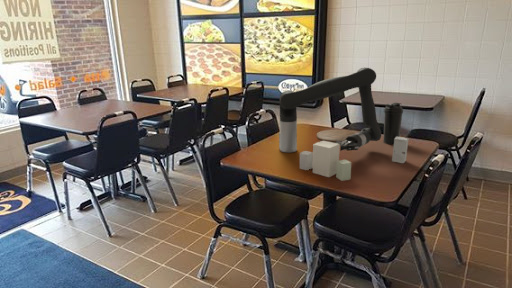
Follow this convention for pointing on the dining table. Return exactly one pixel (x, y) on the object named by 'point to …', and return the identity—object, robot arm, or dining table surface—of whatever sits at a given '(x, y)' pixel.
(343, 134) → the trivet
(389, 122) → the water bottle
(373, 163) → the dining table surface
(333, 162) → the cream box with panel
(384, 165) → the dining table surface
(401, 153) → the skincare box
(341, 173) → the sage block
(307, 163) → the grey block
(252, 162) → the dining table surface
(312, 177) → the dining table surface
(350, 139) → the robot arm
